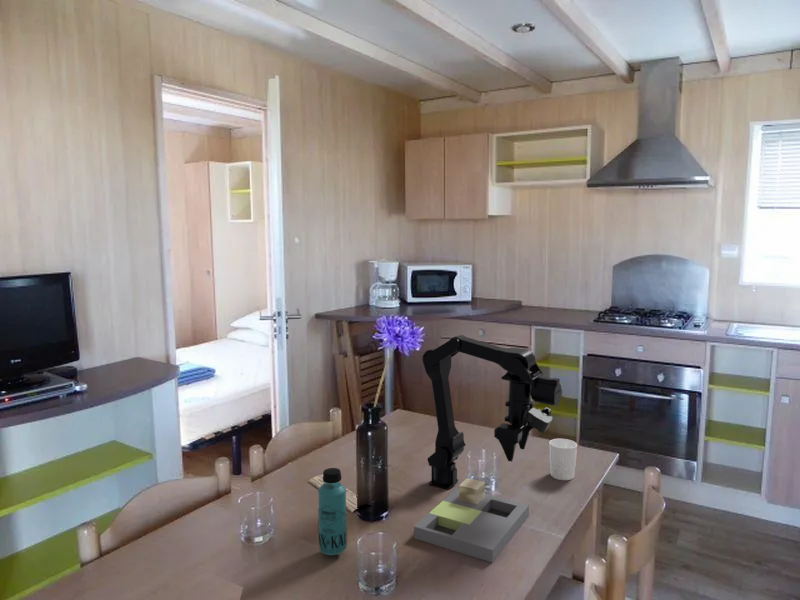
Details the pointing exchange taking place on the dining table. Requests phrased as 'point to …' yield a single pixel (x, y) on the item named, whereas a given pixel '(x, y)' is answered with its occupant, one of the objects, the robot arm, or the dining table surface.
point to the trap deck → (472, 525)
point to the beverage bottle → (332, 513)
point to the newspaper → (350, 496)
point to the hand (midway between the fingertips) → (516, 454)
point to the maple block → (472, 491)
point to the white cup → (562, 458)
